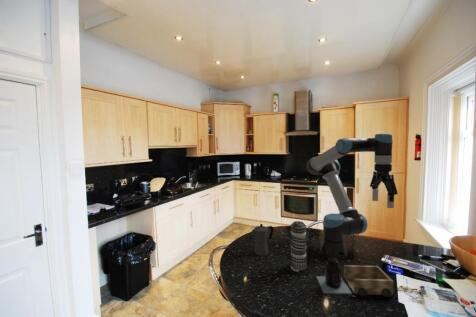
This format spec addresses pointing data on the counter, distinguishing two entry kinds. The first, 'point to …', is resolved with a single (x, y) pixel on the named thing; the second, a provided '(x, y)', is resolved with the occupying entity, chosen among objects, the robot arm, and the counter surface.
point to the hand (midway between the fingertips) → (382, 204)
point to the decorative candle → (298, 246)
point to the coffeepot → (262, 239)
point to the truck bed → (368, 280)
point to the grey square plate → (326, 289)
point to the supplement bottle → (333, 273)
